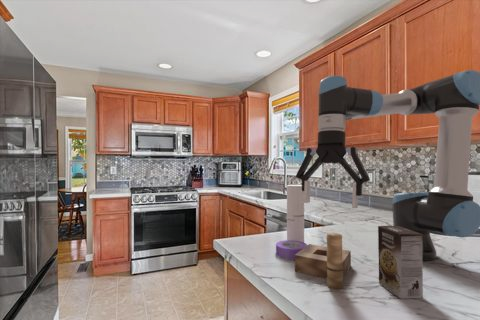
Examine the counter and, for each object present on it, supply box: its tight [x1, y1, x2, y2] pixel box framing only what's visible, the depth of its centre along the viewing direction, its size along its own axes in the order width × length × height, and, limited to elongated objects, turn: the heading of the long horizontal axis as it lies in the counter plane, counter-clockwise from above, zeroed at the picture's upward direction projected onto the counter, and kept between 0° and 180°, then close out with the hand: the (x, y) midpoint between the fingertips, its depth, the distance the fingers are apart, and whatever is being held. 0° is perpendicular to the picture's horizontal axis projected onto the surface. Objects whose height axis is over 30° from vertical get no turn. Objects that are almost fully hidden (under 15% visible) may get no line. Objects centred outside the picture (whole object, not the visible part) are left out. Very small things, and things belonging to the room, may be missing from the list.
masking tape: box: [275, 239, 308, 260], centre depth 98 cm, size 12×12×4 cm
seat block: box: [294, 243, 352, 280], centre depth 84 cm, size 14×14×5 cm
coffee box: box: [377, 225, 424, 300], centre depth 69 cm, size 9×6×16 cm
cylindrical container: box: [286, 184, 305, 243], centre depth 110 cm, size 7×7×25 cm
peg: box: [326, 232, 344, 291], centre depth 72 cm, size 4×4×14 cm
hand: (329, 205), depth 74 cm, fingers open, 13 cm apart
